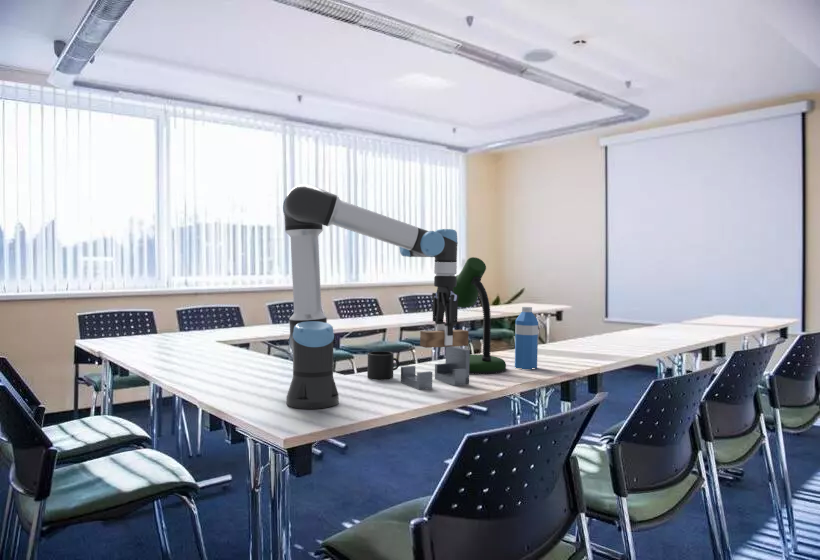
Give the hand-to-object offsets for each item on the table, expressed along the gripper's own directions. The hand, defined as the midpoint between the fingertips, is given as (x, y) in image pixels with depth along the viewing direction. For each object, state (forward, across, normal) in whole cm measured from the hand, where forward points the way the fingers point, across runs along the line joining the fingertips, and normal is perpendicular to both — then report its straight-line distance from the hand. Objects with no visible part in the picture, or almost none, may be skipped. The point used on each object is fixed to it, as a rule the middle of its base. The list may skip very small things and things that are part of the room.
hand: (444, 344), depth 188 cm
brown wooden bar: (+1, 0, 0) cm, 1 cm away
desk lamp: (+15, +28, -30) cm, 44 cm away
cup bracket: (+15, +7, -7) cm, 18 cm away
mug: (+15, +23, +11) cm, 30 cm away
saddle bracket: (+15, +6, +7) cm, 18 cm away
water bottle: (+15, +19, -51) cm, 56 cm away
